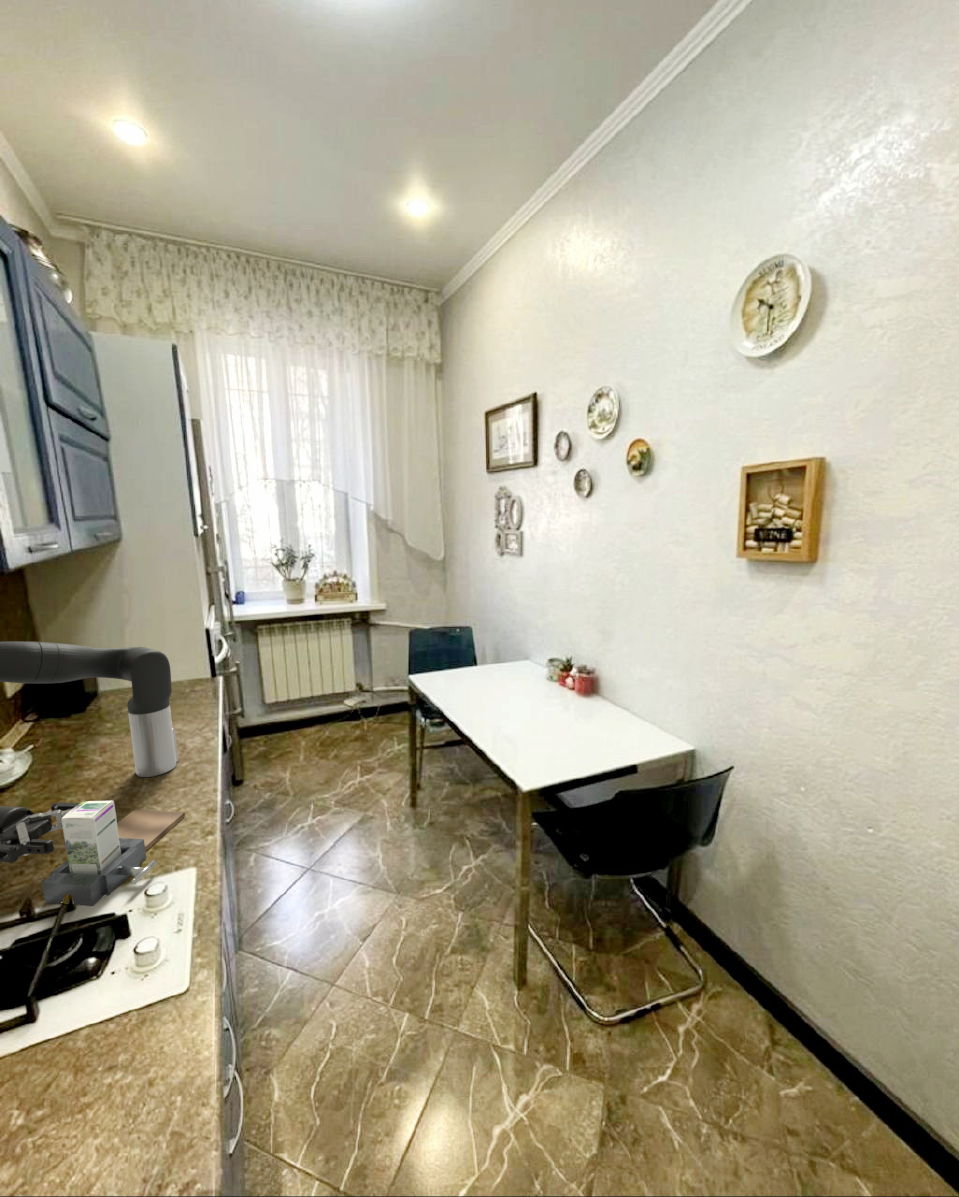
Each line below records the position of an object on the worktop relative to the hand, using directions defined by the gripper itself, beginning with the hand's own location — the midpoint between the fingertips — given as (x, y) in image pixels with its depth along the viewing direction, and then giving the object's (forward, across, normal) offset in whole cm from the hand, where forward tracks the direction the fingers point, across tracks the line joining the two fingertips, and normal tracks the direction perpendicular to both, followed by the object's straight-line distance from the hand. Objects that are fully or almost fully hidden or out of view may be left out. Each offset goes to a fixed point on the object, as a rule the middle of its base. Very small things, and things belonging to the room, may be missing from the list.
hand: (73, 831), depth 91 cm
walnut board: (+1, +14, +10) cm, 17 cm away
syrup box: (+4, 0, +10) cm, 10 cm away
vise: (+6, 0, +10) cm, 11 cm away
